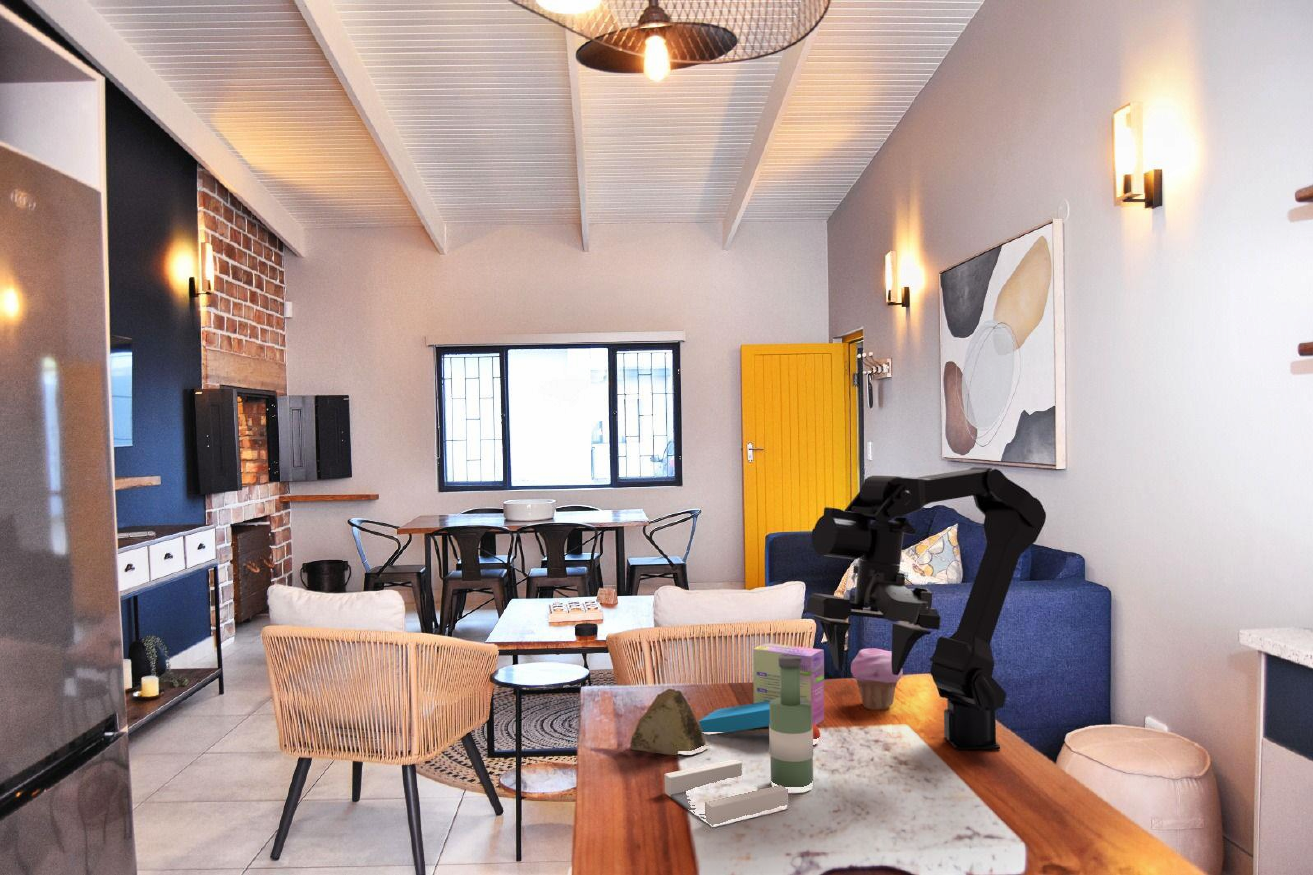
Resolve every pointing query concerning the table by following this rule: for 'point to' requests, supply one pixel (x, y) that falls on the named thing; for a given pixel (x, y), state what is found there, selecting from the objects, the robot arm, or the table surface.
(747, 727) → the lever
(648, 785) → the table surface
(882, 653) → the cupcake
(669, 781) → the rest
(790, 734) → the bottle
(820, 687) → the box
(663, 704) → the rock
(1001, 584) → the robot arm
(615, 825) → the table surface
